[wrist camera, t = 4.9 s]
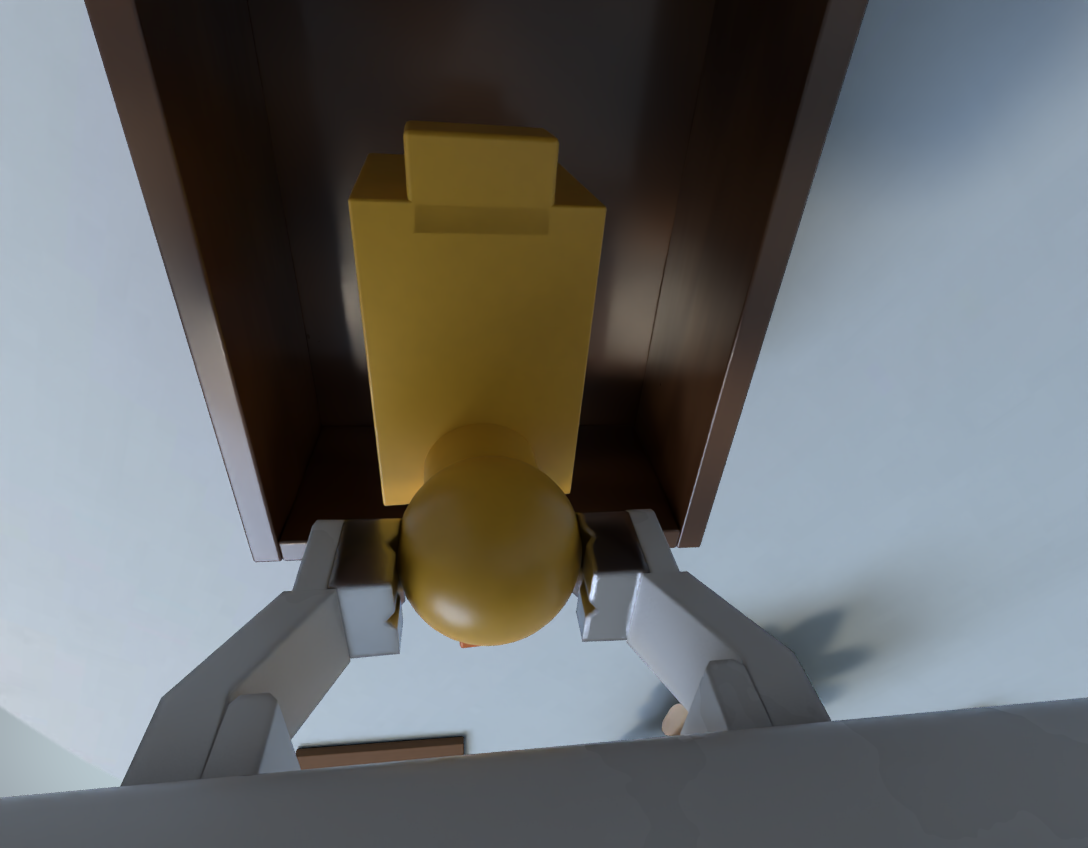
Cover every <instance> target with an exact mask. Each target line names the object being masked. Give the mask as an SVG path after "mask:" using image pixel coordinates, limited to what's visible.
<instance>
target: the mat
mask: <svg viewBox="0 0 1088 848" xmlns="http://www.w3.org/2000/svg"><path fill="white" fill-rule="evenodd" d="M459 755H464V737H451V738H437V739H424V740H411V741H398V742H384V743H371V744H358V745H345V746H331V747H318V748H305V749H297V751H296V757H297V759H298V762H299V765H300V768H301V770H306V769H317V768H328V767H339V766H350V765H361V764H372V763H383V762H394V761H405V760H415V759H426V758H437V757H448V756H459Z"/></svg>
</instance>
